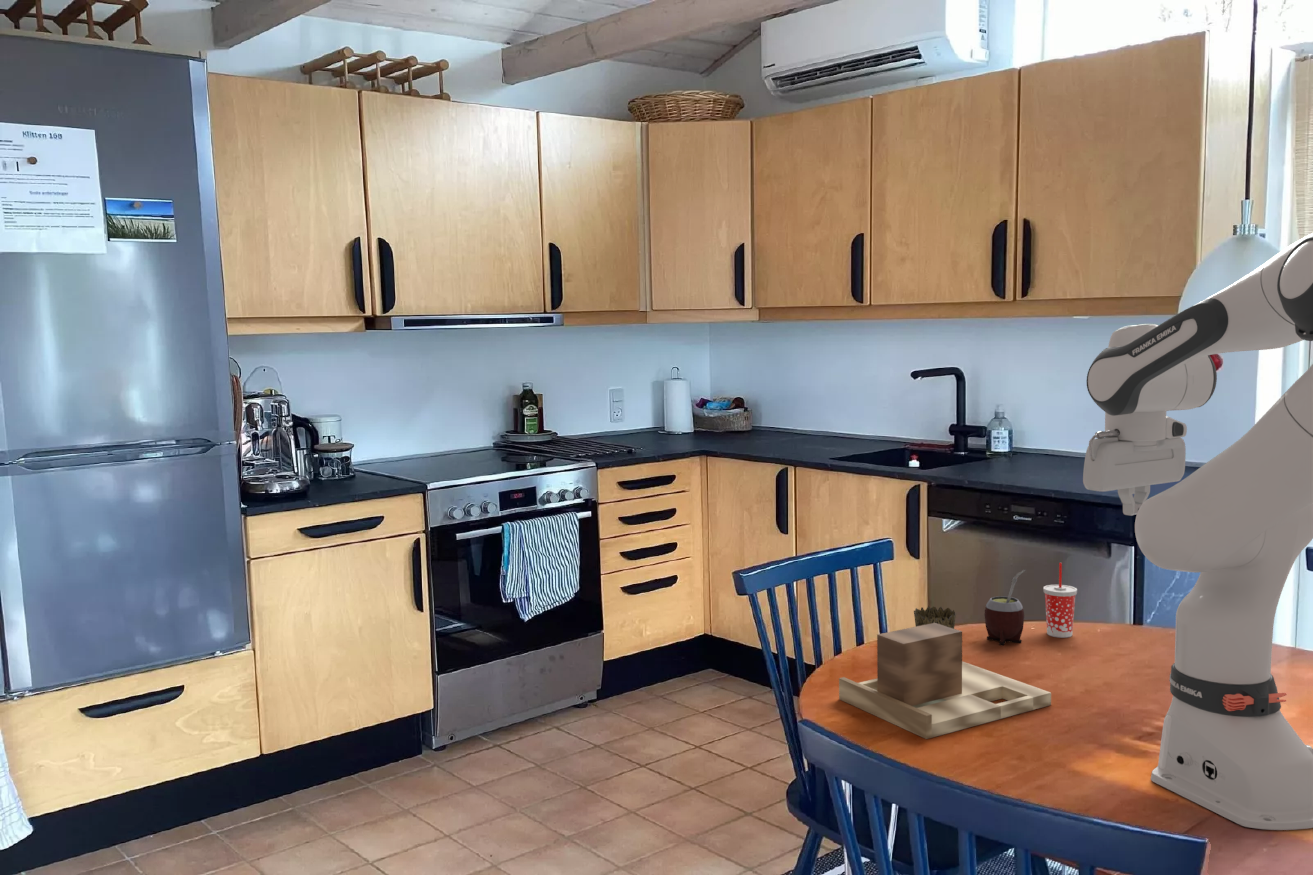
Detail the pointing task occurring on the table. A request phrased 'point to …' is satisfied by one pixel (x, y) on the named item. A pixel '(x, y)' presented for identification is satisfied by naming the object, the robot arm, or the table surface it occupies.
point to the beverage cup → (1060, 608)
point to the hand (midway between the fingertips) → (1133, 514)
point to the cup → (935, 616)
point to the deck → (949, 703)
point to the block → (920, 663)
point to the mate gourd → (1005, 617)
